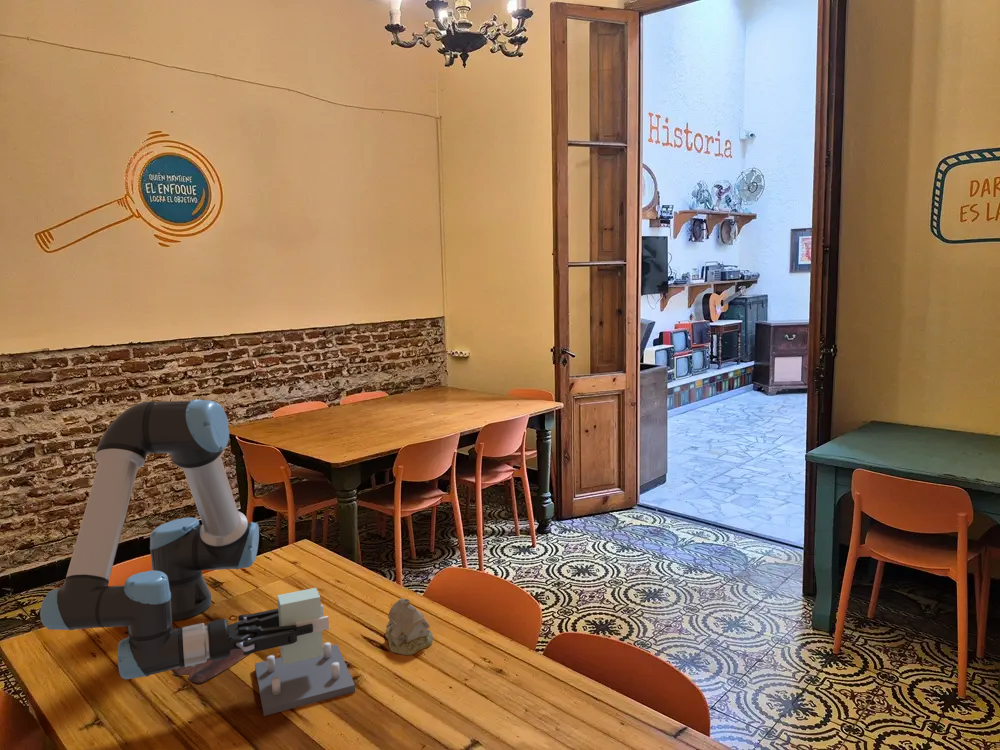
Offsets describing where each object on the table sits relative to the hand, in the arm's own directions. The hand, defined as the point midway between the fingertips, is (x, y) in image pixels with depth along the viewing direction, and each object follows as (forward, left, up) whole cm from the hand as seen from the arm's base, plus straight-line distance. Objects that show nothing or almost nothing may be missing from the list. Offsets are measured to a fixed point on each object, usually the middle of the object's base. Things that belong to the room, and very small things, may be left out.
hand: (325, 616), depth 143 cm
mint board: (0, -5, -7) cm, 9 cm away
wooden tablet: (-20, -18, -14) cm, 30 cm away
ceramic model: (-7, +20, -14) cm, 25 cm away
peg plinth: (0, -5, -13) cm, 14 cm away
